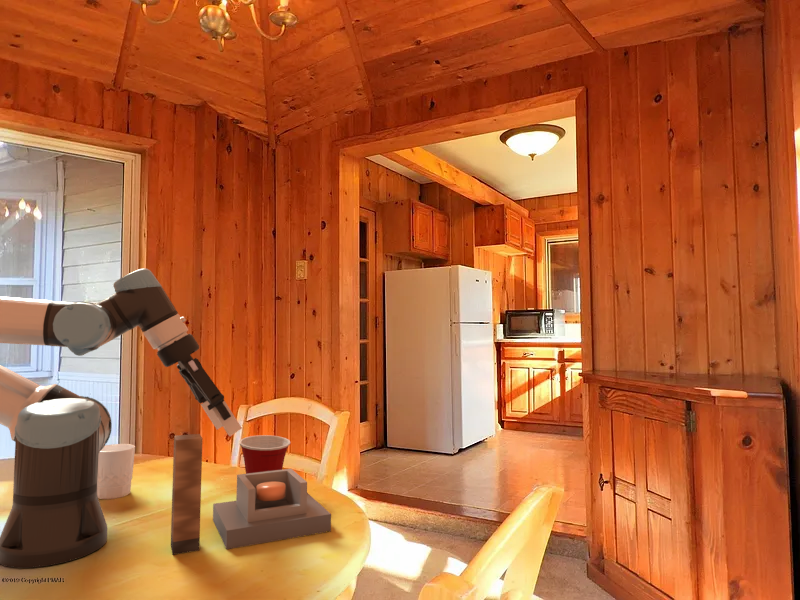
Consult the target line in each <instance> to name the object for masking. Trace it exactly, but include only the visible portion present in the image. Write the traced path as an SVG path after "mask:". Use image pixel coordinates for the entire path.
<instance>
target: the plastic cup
mask: <svg viewBox="0 0 800 600" xmlns="http://www.w3.org/2000/svg"><path fill="white" fill-rule="evenodd" d="M290 445H291V440H290V439H288V438H286V437H282V436H278V435H270V434H269V435H267V434H266V435H265V434H263V435H261V434H260V435H250V436H246V437H244V438H242V439H240V440H239V446H240V447H241V452H242V457H243V462H244V470H245V474H248V473H257V472H266V471H275V470H283V467H284V462H285V457H286V453H287V451H288V448H289V446H290Z"/></svg>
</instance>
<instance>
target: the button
mask: <svg viewBox="0 0 800 600" xmlns="http://www.w3.org/2000/svg"><path fill="white" fill-rule="evenodd" d="M285 490H286V484H285V483H283V482H264V483H260V484H258V485H257V490H256V498H257V499H258V500H261V501H275V500H280V499H283V498H284V497H285Z"/></svg>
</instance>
